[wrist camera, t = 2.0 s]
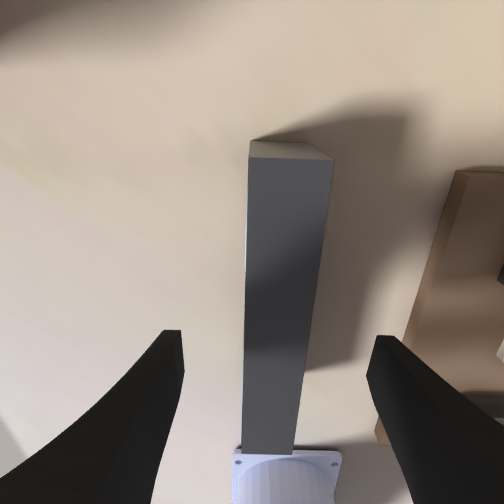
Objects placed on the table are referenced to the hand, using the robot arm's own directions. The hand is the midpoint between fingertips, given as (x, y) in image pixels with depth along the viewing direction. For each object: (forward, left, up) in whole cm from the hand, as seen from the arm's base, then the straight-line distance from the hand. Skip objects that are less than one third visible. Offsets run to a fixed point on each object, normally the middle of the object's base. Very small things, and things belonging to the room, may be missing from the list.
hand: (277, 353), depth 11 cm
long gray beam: (0, 0, -6) cm, 6 cm away
